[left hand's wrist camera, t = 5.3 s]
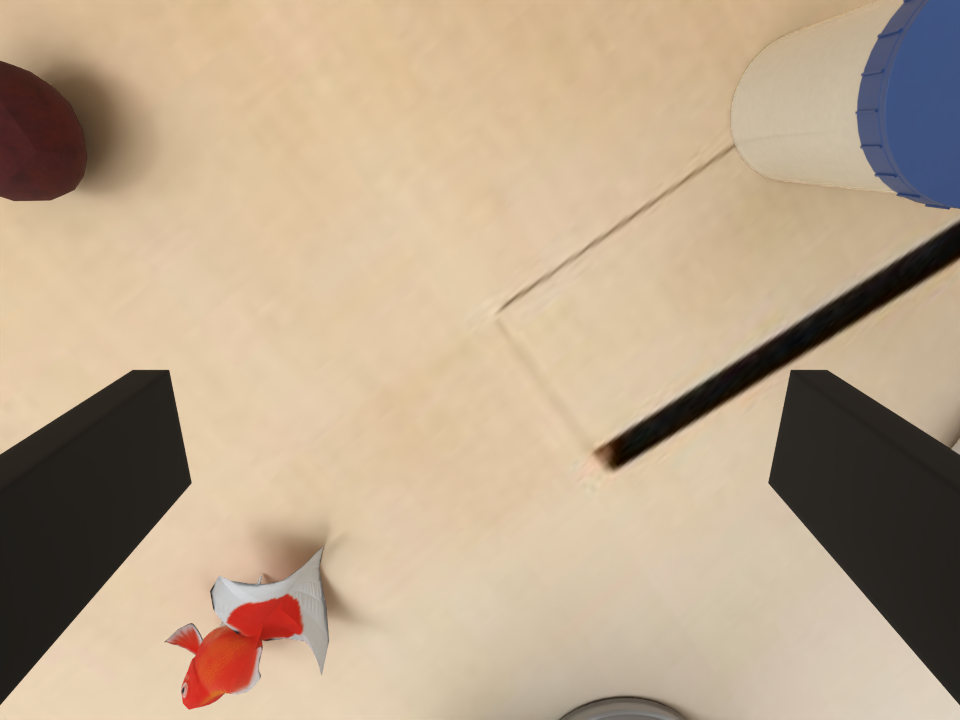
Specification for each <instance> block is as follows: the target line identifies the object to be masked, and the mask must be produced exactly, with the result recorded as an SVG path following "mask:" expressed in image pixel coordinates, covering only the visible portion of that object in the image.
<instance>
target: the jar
mask: <svg viewBox="0 0 960 720" xmlns="http://www.w3.org/2000/svg"><path fill="white" fill-rule="evenodd" d="M903 3H904V2H903V0H877V1H874V2H872V3H869V4H866V5H864V6H861V7H858V8H856V9H853V10H850V11H848V12H845V13H842V14H840V15H837V16H834V17H832V18H829V19H826V20H823V21H821V22H818V23H815V24H813V25H810V26H807V27H805V28H802V29H799V30H797V31H794V32H791V33H789V34H786V35H784V36H782V37H780V38H778V39H777V40H775V41H774V42H772V43H771V44H769V45H768V46H767V47H766V48H764V49H763V50H762V51H761V52H760V53H759V54H758V55H757V56H756V57H755V58H754V59H753V61H752V62H751V63H750V65H749V66H748V67H747V69H746V70H745V72H744V74H743V75H742V77H741V79H740V81H739V84H738V86H737V88H736V91H735V94H734V97H733V102H732V107H731V130H732V136H733V140H734V143H735V146H736V148H737V150H738V152H739V154H740V155H741V157H742V158H743V160H744V161H745V162H746V163H747V164H748V166H749V167H751V168H752V169H753V170H754V171H755V172H757V173H759V174H760V175H762V176H764V177H767V178H769V179H772V180H777V181H783V182H792V183H802V184H811V185H820V186H829V187H838V188H847V189H857V190H866V191H875V192H884V193H893V194H898V193H896V192H895V191H893V190H892V189H890V188H889V187H888V186H887V185H886V184H885V183H883V182H882V181H881V179H880V178H879V177H875V176H874V175H875V174H876V173H875V172H874V171H873V169H872V168H871V166H870V164H869V163H868V161H867V159H866V157H865V154H864V152H863V149H860V146H861V142H860V138H859V134H858V125H857V114H855V112H856V111H857V100H858V94H859V87H860V83H861V79H862V76H861V73H863V72H864V68H865V66H866V63H867V61H868V58H869V56H870V53H871V50H872V49H873V47H874V45H875V43H876V41H877V39H878V37H877V36H878V34H881V32H882V31H883V29H884V28H885V26H886V25H887V23H888V22H889V20H890V19H891V18H892V16H893V15H894V14H895V13H896V11H897V10H898V9H899V8H900V7H901V5H902V4H903Z"/></svg>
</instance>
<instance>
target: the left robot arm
mask: <svg viewBox="0 0 960 720" xmlns="http://www.w3.org/2000/svg"><path fill="white" fill-rule="evenodd" d="M190 484H191V478H190V473H189V468H188V462H187V457H186V452H185V447H184V442H183V437H182V432H181V427H180V422H179V417H178V412H177V407H176V402H175V397H174V392H173V387H172V382H171V377H170V372H169V370H132V371H131V372H129V373H127V374H126V375H124V376H123V377H121V378H120V379H118V380H116V381H115V382H113V383H112V384H110V385H109V386H107V387H105V388H104V389H102V390H101V391H99V392H98V393H96V394H94V395H93V396H91V397H90V398H88V399H87V400H85V401H84V402H82V403H80V404H79V405H77V406H76V407H74V408H73V409H71V410H69V411H68V412H66V413H65V414H63V415H62V416H60V417H58V418H57V419H55V420H54V421H52V422H51V423H49V424H47V425H46V426H44V427H43V428H41V429H40V430H38V431H36V432H35V433H33V434H32V435H30V436H29V437H27V438H26V439H24V440H22V441H21V442H19V443H18V444H16V445H15V446H13V447H11V448H10V449H8V450H7V451H5V452H4V453H2V454H0V705H1V704H2V702H3V701H4V700H5V699H6V698H7V697H8V695H9V694H10V693H11V692H12V691H13V690H14V688H15V687H16V686H17V685H18V684H19V683H20V682H21V680H22V679H23V678H24V677H25V676H26V675H27V673H28V672H29V671H30V670H31V669H32V668H33V666H34V665H35V664H36V663H37V662H38V661H39V659H40V658H41V657H42V656H43V655H44V654H45V653H46V651H47V650H48V649H49V648H50V647H51V646H52V644H53V643H54V642H55V641H56V640H57V639H58V637H59V636H60V635H61V634H62V633H63V632H64V630H65V629H66V628H67V627H68V626H69V625H70V624H71V622H72V621H73V620H74V619H75V618H76V617H77V615H78V614H79V613H80V612H81V611H82V610H83V608H84V607H85V606H86V605H87V604H88V603H89V601H90V600H91V599H92V598H93V597H94V596H95V595H96V593H97V592H98V591H99V590H100V589H101V588H102V586H103V585H104V584H105V583H106V582H107V581H108V579H109V578H110V577H111V576H112V575H113V574H114V572H115V571H116V570H117V569H118V568H119V567H120V566H121V564H122V563H123V562H124V561H125V560H126V559H127V557H128V556H129V555H130V554H131V553H132V552H133V550H134V549H135V548H136V547H137V546H138V545H139V543H140V542H141V541H142V540H143V539H144V538H145V537H146V535H147V534H148V533H149V532H150V531H151V530H152V528H153V527H154V526H155V525H156V524H157V523H158V521H159V520H160V519H161V518H162V517H163V516H164V514H165V513H166V512H167V511H168V510H169V509H170V508H171V506H172V505H173V504H174V503H175V502H176V501H177V499H178V498H179V497H180V496H181V495H182V494H183V492H184V491H185V490H186V489H187V488H188V487H189V485H190ZM769 484H770V485H771V487H772V488H773V489H774V490H775V491H776V492H777V494H778V495H779V496H780V497H781V498H782V499H783V501H784V502H785V503H786V504H787V505H788V506H789V508H790V509H791V510H792V511H793V512H794V513H795V514H796V516H797V517H798V518H799V519H800V520H801V521H802V523H803V524H804V525H805V526H806V527H807V528H808V530H809V531H810V532H811V533H812V534H813V535H814V537H815V538H816V539H817V540H818V541H819V542H820V543H821V545H822V546H823V547H824V548H825V549H826V550H827V552H828V553H829V554H830V555H831V556H832V557H833V559H834V560H835V561H836V562H837V563H838V564H839V566H840V567H841V568H842V569H843V570H844V571H845V572H846V574H847V575H848V576H849V577H850V578H851V579H852V581H853V582H854V583H855V584H856V585H857V586H858V588H859V589H860V590H861V591H862V592H863V593H864V595H865V596H866V597H867V598H868V599H869V600H870V601H871V603H872V604H873V605H874V606H875V607H876V608H877V610H878V611H879V612H880V613H881V614H882V615H883V617H884V618H885V619H886V620H887V621H888V622H889V624H890V625H891V626H892V627H893V628H894V629H895V630H896V632H897V633H898V634H899V635H900V636H901V637H902V639H903V640H904V641H905V642H906V643H907V644H908V646H909V647H910V648H911V649H912V650H913V651H914V653H915V654H916V655H917V656H918V657H919V658H920V659H921V661H922V662H923V663H924V664H925V665H926V666H927V668H928V669H929V670H930V671H931V672H932V673H933V675H934V676H935V677H936V678H937V679H938V680H939V682H940V683H941V684H942V685H943V686H944V687H945V688H946V690H947V691H948V692H949V693H950V694H951V695H952V697H953V698H954V699H955V700H956V701H957V702H958V704H959V705H960V454H958V453H956V452H955V451H953V450H952V449H950V448H949V447H947V446H945V445H944V444H942V443H941V442H939V441H938V440H936V439H934V438H933V437H931V436H930V435H928V434H927V433H925V432H924V431H922V430H920V429H919V428H917V427H916V426H914V425H913V424H911V423H909V422H908V421H906V420H905V419H903V418H902V417H900V416H898V415H897V414H895V413H894V412H892V411H891V410H889V409H887V408H886V407H884V406H883V405H881V404H880V403H878V402H876V401H875V400H873V399H872V398H870V397H869V396H867V395H866V394H864V393H862V392H861V391H859V390H858V389H856V388H855V387H853V386H851V385H850V384H848V383H847V382H845V381H844V380H842V379H840V378H839V377H837V376H836V375H834V374H833V373H831V372H829V371H828V370H791V372H790V377H789V382H788V387H787V392H786V397H785V402H784V407H783V412H782V417H781V422H780V427H779V432H778V437H777V442H776V447H775V452H774V457H773V462H772V468H771V473H770V478H769ZM561 720H686V719H685V718H683V717H682V716H681V715H680V714H679V713H677V712H676V711H674V710H672V709H671V708H669V707H666V706H664V705H662V704H659V703H656V702H652V701H648V700H643V699H635V698H616V699H608V700H602V701H598V702H594V703H591V704H588V705H585V706H583V707H580V708H578V709H576V710H574V711H572V712H571V713H569V714H568V715H566V716H565V717H563V718H562V719H561Z"/></svg>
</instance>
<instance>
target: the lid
mask: <svg viewBox="0 0 960 720" xmlns="http://www.w3.org/2000/svg"><path fill="white" fill-rule="evenodd" d="M903 2H904V3H903V4H902V5H901V7H900V8H899V9H898V10H897V11H896V13H895V14H894V15H893V16H892V18H891V19H890V20H889V22H888V23H887V25H886V26H885V28H884V29H883V31H882V32H881V34H878V36H877V37H878V39H877V41H876V43H875V45H874V47H873V49H872V50H871V53H870V56H869V58H868V61H867V63H866V66H865V68H864V72H863V73H861V76H862V79H861V83H860V87H859V94H858V100H857V111H856V112H855V114H857V125H858V134H859V138H860V142H861V146H860V149H863V152H864V154H865V157H866V159H867V161H868V163H869V164H870V166H871V168H872V169H873V171H874V172H875V173H876V174H875V175H874V176H875V177H879V178H880V179H881V181H882V182H883V183H885V184H886V185H887V186H888V187H889V188H890V189H892V190H893V191H895V192H896V193H898V194H897V196H900V197H905V198H908V199H910V200H912V201H915V202H919V203H923V204H926V205H925V206H927V207H935V208H942V209H950V208H958V209H960V0H903Z"/></svg>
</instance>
